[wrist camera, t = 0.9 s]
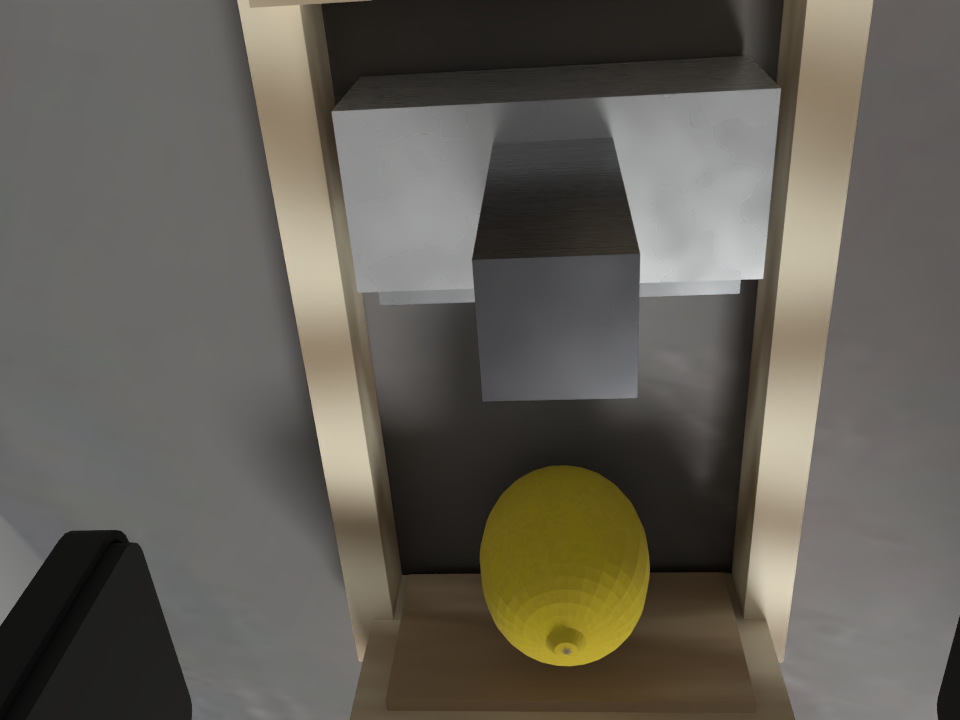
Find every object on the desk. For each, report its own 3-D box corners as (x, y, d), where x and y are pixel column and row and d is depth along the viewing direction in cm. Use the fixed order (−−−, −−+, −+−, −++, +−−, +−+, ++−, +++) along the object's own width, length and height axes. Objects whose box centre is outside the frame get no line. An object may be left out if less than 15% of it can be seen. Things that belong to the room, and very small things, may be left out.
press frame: (768, 618, 36) (822, 804, 29) (369, 619, 37) (329, 796, 30) (859, -135, 23) (996, -130, 16) (249, -91, 24) (131, -69, 18)
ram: (734, 243, 28) (840, 462, 18) (382, 256, 29) (296, 471, 19) (748, 55, 25) (881, 189, 15) (360, 76, 26) (245, 216, 16)
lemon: (662, 512, 34) (692, 685, 27) (529, 561, 35) (525, 737, 28) (598, 398, 31) (613, 555, 24) (459, 457, 33) (436, 619, 26)
